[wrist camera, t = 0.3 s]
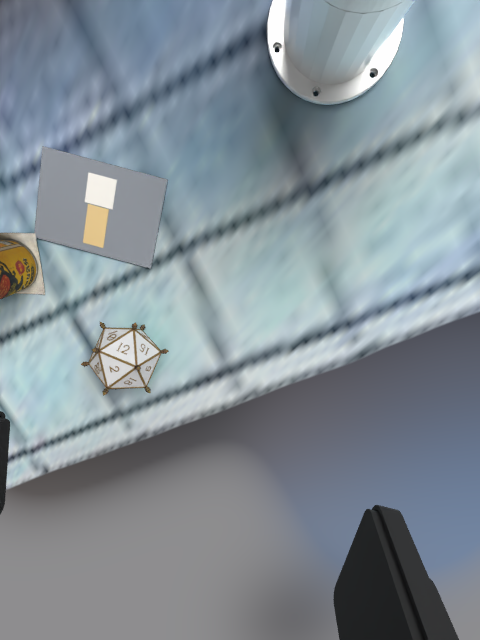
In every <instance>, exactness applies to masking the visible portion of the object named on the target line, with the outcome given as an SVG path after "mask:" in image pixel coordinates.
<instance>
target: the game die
mask: <svg viewBox="0 0 480 640" xmlns="http://www.w3.org/2000/svg"><path fill="white" fill-rule="evenodd" d="M100 326H101V328H103V331H102V333H101V336H100V338H99V340H98V342H97V344H96V347H95V348H94V349H92V350H93V353H92V355H91V358H90V360H89V362H83V363H82V364H81V365H83V366H84V367H85V366H87V365H90V367H91V368H92V369H93V371H94V372H95V373H96V375H97V376H98V377H99V379H100V380H101V381H102V383H103V384H104V385H105V387H106V388H105V389H104V391H103V396H104V395H105V394H107V392H108V390H109V389H125V388H145V390H146V392H148V393H150V389H149V387H147V385H148V383H149V380H150V378H151V376H152V373H153V371H154V369H155V367H156V364H157V362H158V360H159V357H160V355H161V353H163V354H164V353H165V354H166V353H167V352H168V350H166V349H164V350H160V349H159V348H158V347H157V346H156V345H155V344H154V343H153V341H152V340H151V339H150V338H149V337H148V336H147V335H146V334H145V333H144V332H143V330H144V328H145V324H144V325H142V326H141V327H140V329H136V328H137V324H136V323H134V324H132V328H106V327H105V325H104V323H102V322H100Z"/></svg>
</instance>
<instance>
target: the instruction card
mask: <svg viewBox="0 0 480 640" xmlns="http://www.w3.org/2000/svg"><path fill="white" fill-rule="evenodd" d="M167 182H168V180H167V179H163V178H160V177H156V176H152V175H148V174H145V173H141V172H137V171H133V170H130V169H126V168H122V167H119V166H115V165H111V164H107V163H104V162H100V161H96V160H92V159H89V158H85V157H81V156H77V155H74V154H70V153H66V152H62V151H59V150H55V149H51V148H48V147H44V146H43V148H42V158H41V169H40V179H39V190H38V200H37V211H36V221H35V232H34V233H35V235H36V238H39V239H43V240H46V241H50V242H54V243H58V244H61V245H65V246H69V247H72V248H76V249H80V250H84V251H87V252H91V253H95V254H98V255H102V256H106V257H110V258H113V259H117V260H121V261H124V262H128V263H132V264H136V265H139V266H143V267H147V268H151V267H152V262H153V256H154V251H155V246H156V240H157V235H158V230H159V225H160V219H161V214H162V209H163V203H164V198H165V193H166V187H167Z"/></svg>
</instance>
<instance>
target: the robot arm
mask: <svg viewBox="0 0 480 640" xmlns="http://www.w3.org/2000/svg"><path fill="white" fill-rule="evenodd" d="M414 2H415V0H272V3H271V6H270V10H269V15H268V22H267V43H268V51H269V55H270V58H271V62H272V65H273V67H274V69H275V71H276V73H277V75H278V77H279V78H280V79H281V81H282V82H283V83H284V85H285V86H286V87H287V88H288V89H289V90H290V91H292V92H293V93H294V94H295V95H297V96H299V97H300V98H302V99H304V100H306V101H309V102H312V103H315V104H323V105H332V104H341V103H344V102H347V101H350V100H353V99H355V98H356V97H358V96H360V95H362V94H364V93H365V92H366V91H368V90H369V89H370V88H371V87H372V86H374V85H375V84H376V83H377V82H378V80H379V79H380V78H381V77H382V76H383V75H384V73H385V72H386V70H387V69H388V68H389V66H390V65H391V63H392V61H393V59H394V57H395V55H396V53H397V51H398V48H399V44H400V41H401V38H402V33H403V26H404V16H405V15H406V13H407V12H408V10H409V9H410V7H411V6H412V5H413V3H414ZM276 48H278V49H279V50H280V51H279V52H278V53H276V52H275V51H274V50H275V49H276ZM370 73H373V74H374V78H371V77H370ZM314 92H318V96H314V95H313V93H314ZM9 432H10V421H9V420H8V419H5V414H4V413H3V412H1V411H0V514H1V512H2V510H3V507H4V504H5V492H6V477H7V462H8V447H9ZM334 607H335V614H336V620H337V626H338V633H339V639H340V640H459V639H458V636H457V634H456V632H455V630H454V627H453V625H452V623H451V620H450V618H449V616H448V613H447V611H446V609H445V607H444V604H443V602H442V600H441V598H440V595H439V593H438V591H437V588H436V586H435V585H434V583H433V581H432V580H431V579H430V578H429V577H428V574H427V572H426V570H425V568H424V565H423V563H422V560H421V558H420V556H419V553H418V551H417V549H416V546H415V544H414V542H413V540H412V537H411V535H410V532H409V530H408V528H407V525H406V523H405V521H404V518H403V516H402V514H401V512H400V511H398V510H395V509H391V508H387V507H383V506H379V505H375V506H374V507H373V508H372V510H370V509H367V510H366V511H365V513H364V515H363V518H362V520H361V523H360V525H359V528H358V530H357V533H356V535H355V538H354V540H353V543H352V545H351V548H350V550H349V553H348V555H347V558H346V561H345V563H344V565H343V568H342V570H341V573H340V576H339V578H338V581H337V583H336V586H335V590H334Z"/></svg>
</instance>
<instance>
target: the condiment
mask: <svg viewBox="0 0 480 640" xmlns="http://www.w3.org/2000/svg"><path fill="white" fill-rule="evenodd" d="M14 293H18V294H44V295H45V290H44V283H43V275H42V269H41V263H40V257H39V252H38V247H37V242H36V235H35V233H0V299H2V298H5V297H7V296H10V295H12V294H14Z"/></svg>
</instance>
